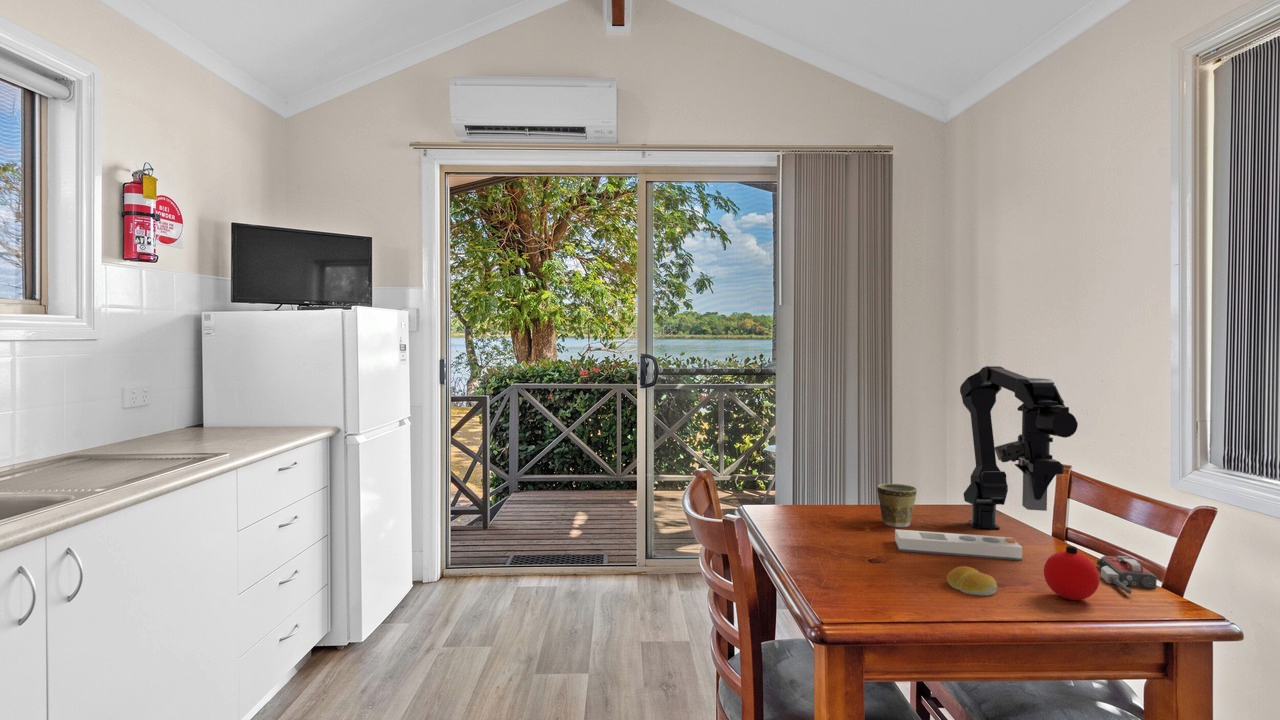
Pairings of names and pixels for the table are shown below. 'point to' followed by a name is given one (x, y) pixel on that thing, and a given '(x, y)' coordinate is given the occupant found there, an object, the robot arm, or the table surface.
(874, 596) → the table surface
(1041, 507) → the grey rectangular block
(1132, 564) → the walkie-talkie
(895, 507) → the ceramic cup
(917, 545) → the power strip
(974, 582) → the bread roll
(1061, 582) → the ornament
